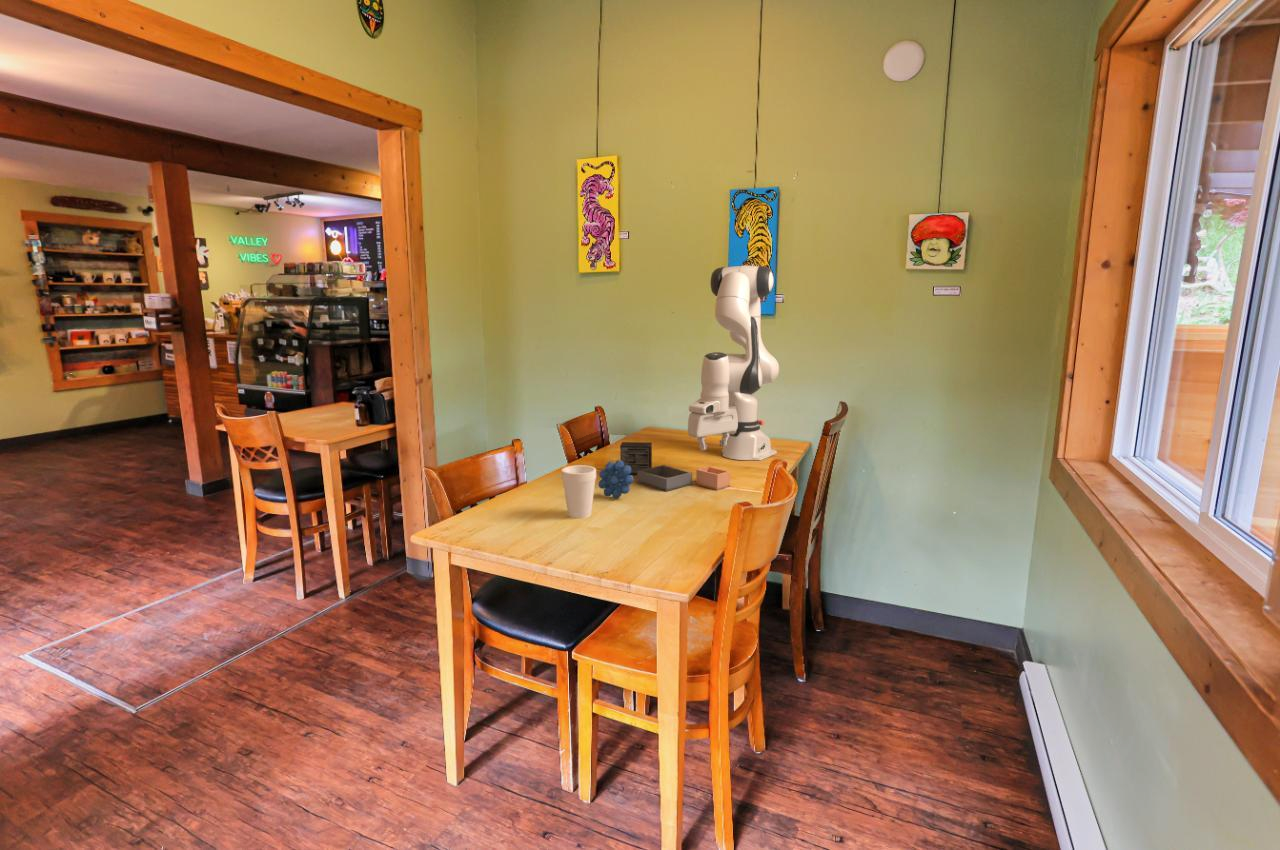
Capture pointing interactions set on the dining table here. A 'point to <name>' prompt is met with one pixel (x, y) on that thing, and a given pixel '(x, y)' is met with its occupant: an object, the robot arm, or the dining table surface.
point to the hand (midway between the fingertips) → (713, 447)
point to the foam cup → (579, 489)
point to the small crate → (713, 478)
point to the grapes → (615, 479)
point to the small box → (636, 455)
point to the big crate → (664, 477)
